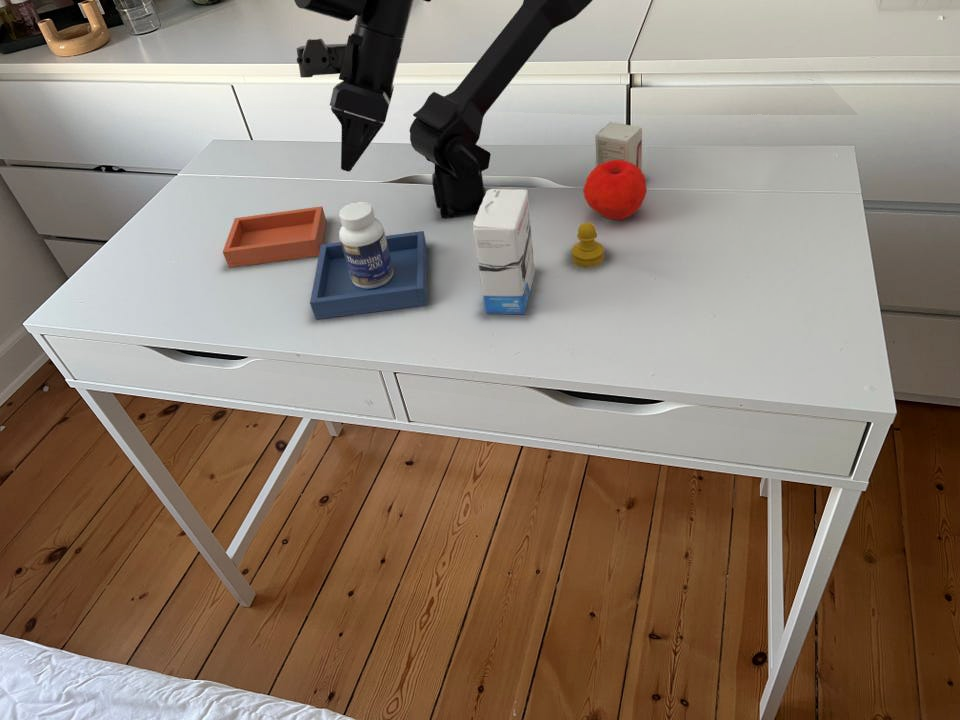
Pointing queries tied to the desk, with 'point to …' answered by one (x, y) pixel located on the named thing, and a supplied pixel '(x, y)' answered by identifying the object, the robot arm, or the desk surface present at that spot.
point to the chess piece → (587, 247)
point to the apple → (615, 189)
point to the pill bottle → (365, 246)
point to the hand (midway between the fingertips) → (348, 162)
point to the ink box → (504, 250)
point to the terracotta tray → (275, 237)
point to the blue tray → (345, 298)
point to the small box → (619, 144)
